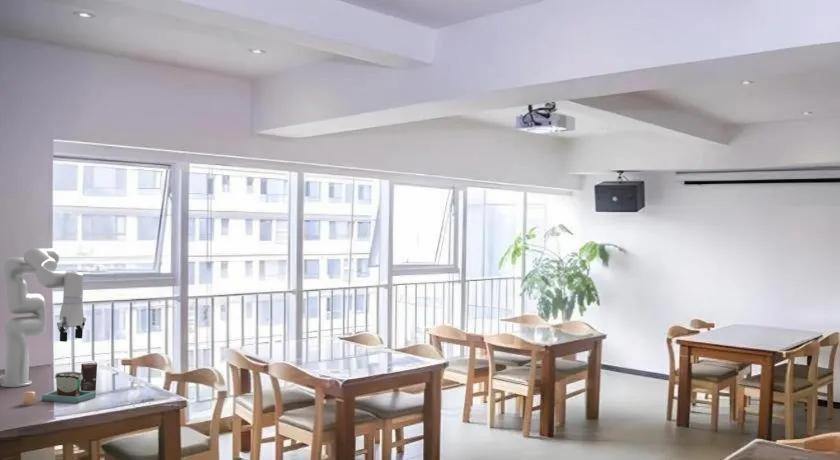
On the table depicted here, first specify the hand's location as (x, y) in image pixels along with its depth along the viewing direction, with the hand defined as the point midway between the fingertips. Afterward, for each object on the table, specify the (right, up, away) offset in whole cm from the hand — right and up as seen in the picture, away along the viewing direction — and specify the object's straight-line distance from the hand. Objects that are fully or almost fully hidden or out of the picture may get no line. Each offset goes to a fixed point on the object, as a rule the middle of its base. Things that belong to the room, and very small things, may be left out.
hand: (71, 339), depth 299 cm
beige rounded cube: (-12, -25, -12) cm, 30 cm away
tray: (-1, -26, 0) cm, 26 cm away
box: (-1, -26, +17) cm, 31 cm away
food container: (-1, -25, +1) cm, 25 cm away
